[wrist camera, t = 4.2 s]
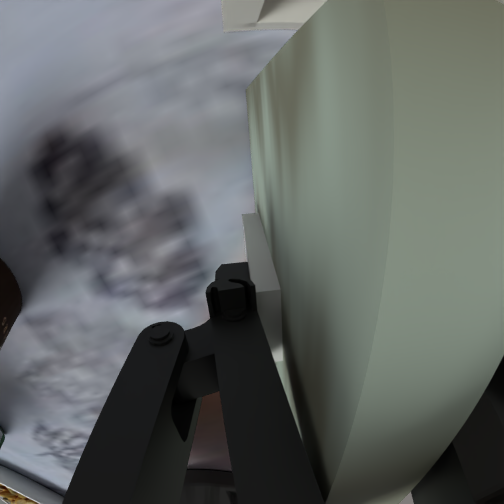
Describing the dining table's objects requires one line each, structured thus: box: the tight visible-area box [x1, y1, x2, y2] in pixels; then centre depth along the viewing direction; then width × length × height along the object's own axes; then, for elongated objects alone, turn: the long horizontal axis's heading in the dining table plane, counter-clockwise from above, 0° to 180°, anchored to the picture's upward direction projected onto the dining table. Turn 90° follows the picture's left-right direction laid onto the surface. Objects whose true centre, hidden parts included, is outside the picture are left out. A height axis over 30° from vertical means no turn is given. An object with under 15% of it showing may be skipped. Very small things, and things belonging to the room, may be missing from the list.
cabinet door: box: [246, 0, 504, 504], centre depth 10 cm, size 14×3×14 cm, turn 4°
